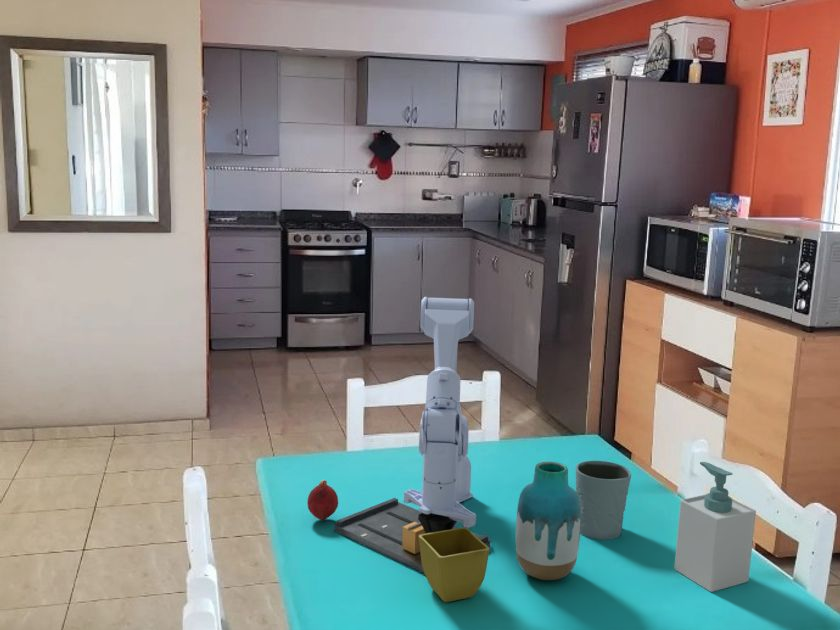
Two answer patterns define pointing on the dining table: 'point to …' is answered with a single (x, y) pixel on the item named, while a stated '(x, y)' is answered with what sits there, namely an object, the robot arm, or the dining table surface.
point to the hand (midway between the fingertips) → (437, 553)
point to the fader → (412, 537)
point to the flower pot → (453, 562)
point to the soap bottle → (715, 537)
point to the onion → (322, 501)
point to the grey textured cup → (602, 498)
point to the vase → (548, 524)
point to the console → (386, 530)
